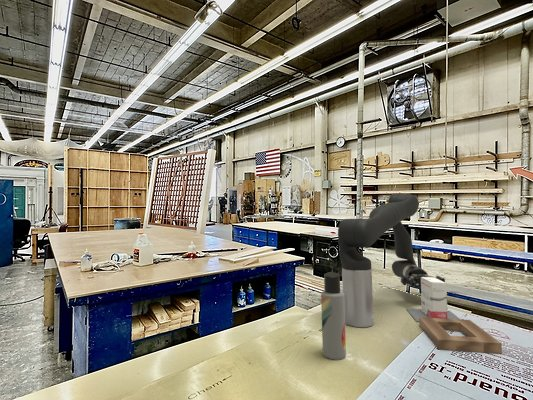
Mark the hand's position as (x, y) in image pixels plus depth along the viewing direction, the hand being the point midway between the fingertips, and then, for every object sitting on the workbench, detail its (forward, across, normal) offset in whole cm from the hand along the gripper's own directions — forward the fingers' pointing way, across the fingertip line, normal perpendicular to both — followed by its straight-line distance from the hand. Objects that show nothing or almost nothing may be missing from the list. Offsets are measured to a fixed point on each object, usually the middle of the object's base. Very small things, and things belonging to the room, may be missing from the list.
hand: (428, 285), depth 101 cm
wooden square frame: (+21, 0, +9) cm, 23 cm away
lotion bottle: (+36, -33, +9) cm, 50 cm away
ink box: (+4, 0, +9) cm, 10 cm away
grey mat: (+4, 0, +9) cm, 10 cm away
